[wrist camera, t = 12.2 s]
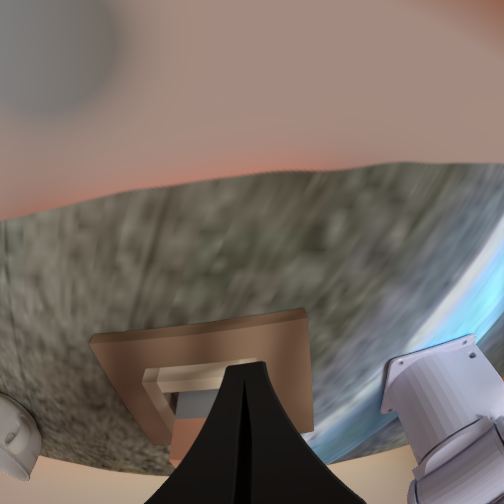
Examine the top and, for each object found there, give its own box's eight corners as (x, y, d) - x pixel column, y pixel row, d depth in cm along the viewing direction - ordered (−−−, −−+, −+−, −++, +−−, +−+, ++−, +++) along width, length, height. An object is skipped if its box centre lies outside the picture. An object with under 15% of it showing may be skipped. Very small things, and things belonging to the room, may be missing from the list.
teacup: (19, 434, 30) (1, 475, 23) (-31, 380, 26) (-57, 421, 19) (81, 436, 29) (64, 490, 22) (21, 372, 24) (-10, 428, 17)
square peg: (231, 379, 23) (230, 458, 16) (240, 409, 24) (242, 481, 18) (180, 384, 23) (168, 459, 16) (194, 413, 25) (188, 483, 18)
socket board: (304, 307, 22) (311, 331, 19) (311, 421, 27) (316, 443, 25) (94, 334, 22) (82, 356, 20) (154, 435, 28) (150, 456, 26)
